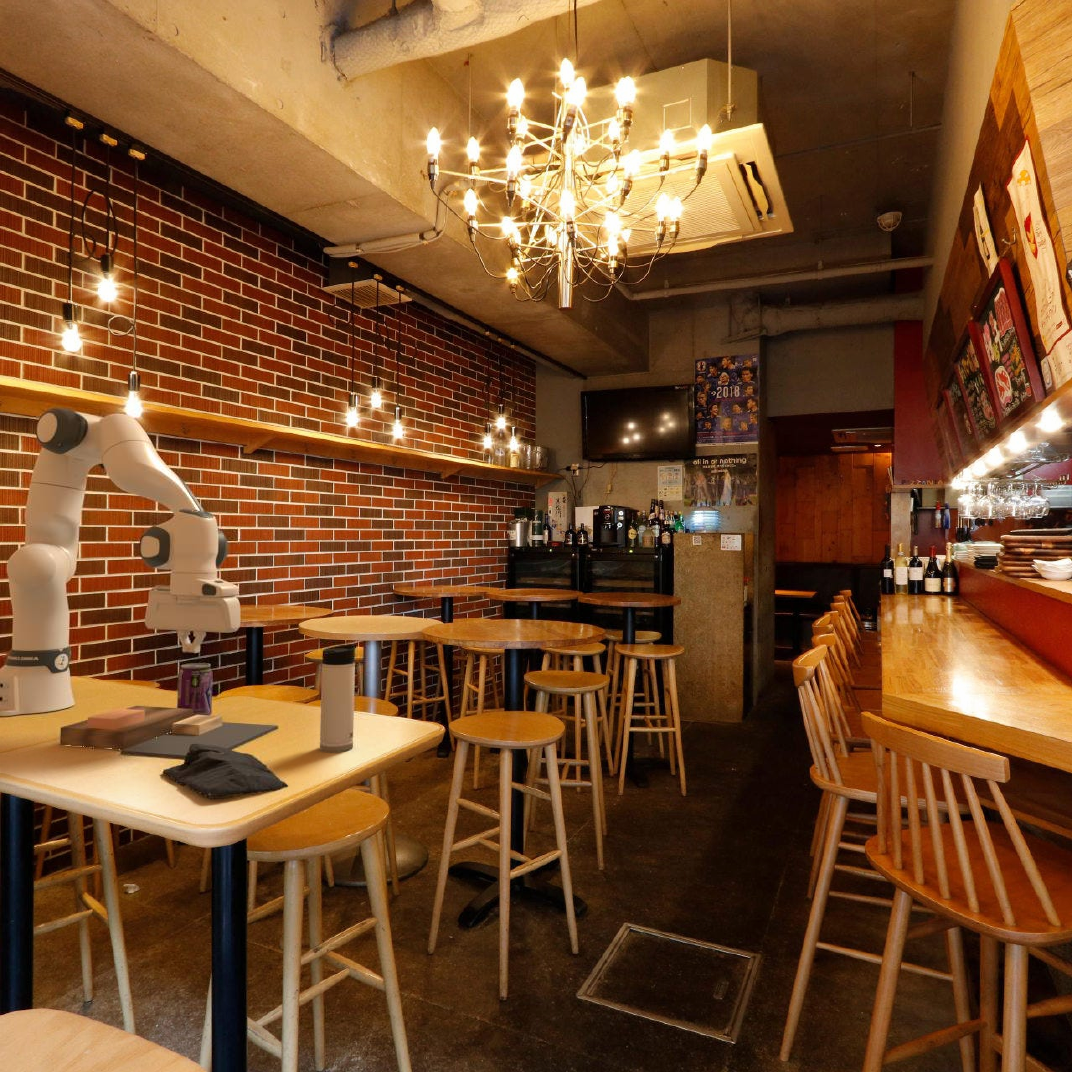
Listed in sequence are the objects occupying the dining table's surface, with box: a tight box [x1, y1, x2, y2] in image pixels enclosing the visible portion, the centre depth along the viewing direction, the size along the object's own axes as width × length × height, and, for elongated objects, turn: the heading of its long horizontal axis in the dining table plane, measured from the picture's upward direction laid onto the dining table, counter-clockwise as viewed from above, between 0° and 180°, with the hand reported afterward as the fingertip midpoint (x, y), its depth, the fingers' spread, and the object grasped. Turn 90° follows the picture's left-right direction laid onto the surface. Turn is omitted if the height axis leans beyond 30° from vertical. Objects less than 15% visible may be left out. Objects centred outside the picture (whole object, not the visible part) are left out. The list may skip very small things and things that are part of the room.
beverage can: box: [176, 662, 214, 716], centre depth 160 cm, size 7×7×12 cm
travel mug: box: [319, 643, 357, 753], centre depth 138 cm, size 6×7×20 cm
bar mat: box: [120, 721, 279, 760], centre depth 142 cm, size 18×24×1 cm
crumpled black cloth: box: [162, 744, 289, 799], centre depth 118 cm, size 15×22×5 cm
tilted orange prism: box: [87, 708, 145, 730], centre depth 139 cm, size 6×8×2 cm
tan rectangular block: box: [172, 715, 223, 735], centre depth 148 cm, size 6×8×2 cm
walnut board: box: [59, 705, 193, 751], centre depth 145 cm, size 14×20×4 cm
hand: (191, 652), depth 148 cm, fingers closed
